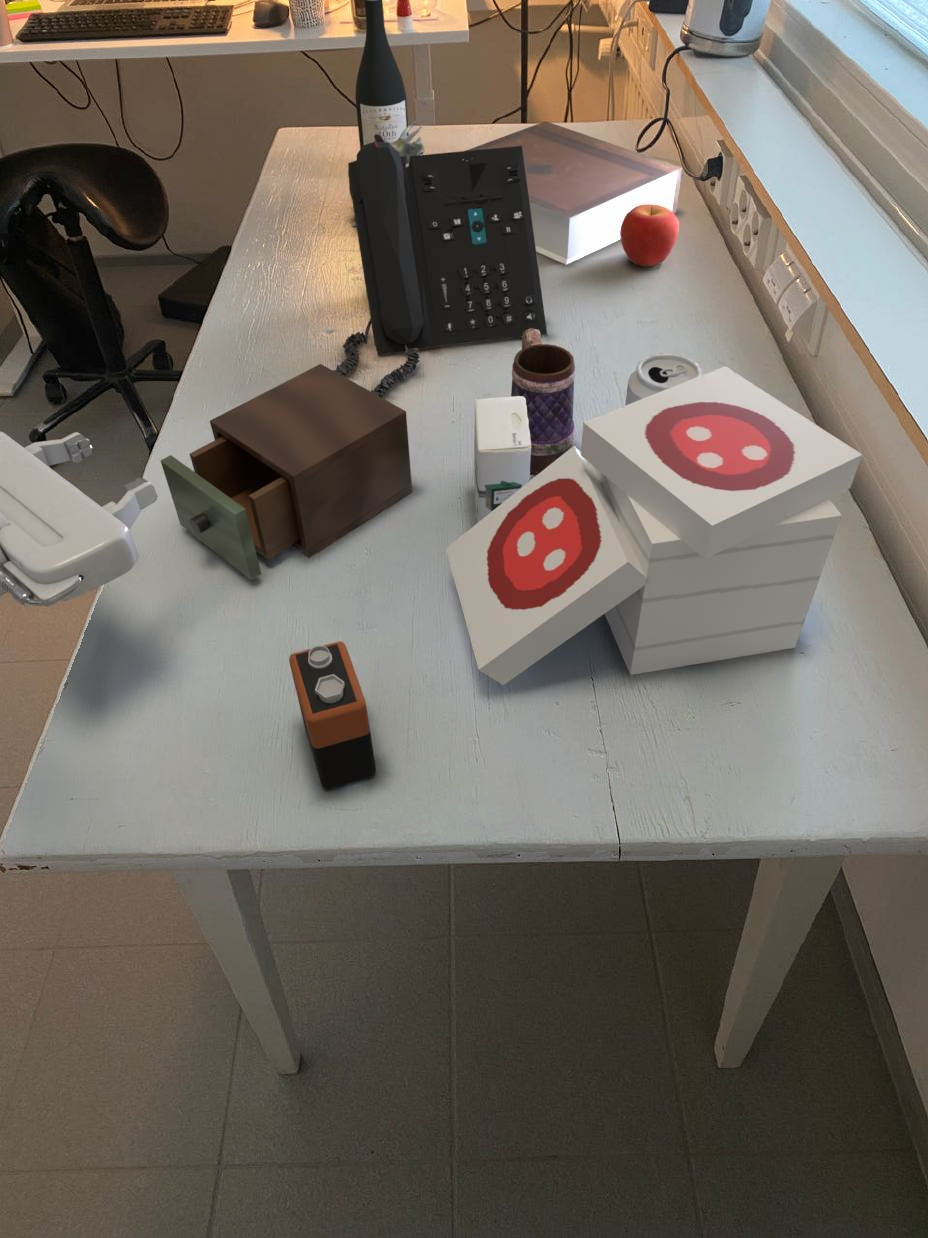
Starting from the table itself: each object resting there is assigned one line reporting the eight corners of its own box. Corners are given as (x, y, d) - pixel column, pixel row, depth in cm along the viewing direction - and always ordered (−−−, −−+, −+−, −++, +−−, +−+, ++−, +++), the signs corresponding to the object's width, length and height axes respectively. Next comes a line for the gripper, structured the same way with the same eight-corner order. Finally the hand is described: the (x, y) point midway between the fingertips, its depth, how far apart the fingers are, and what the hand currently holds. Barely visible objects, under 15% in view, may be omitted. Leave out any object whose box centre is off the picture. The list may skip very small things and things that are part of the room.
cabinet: (309, 558, 90) (293, 476, 82) (230, 500, 96) (209, 420, 89) (412, 491, 96) (406, 411, 89) (332, 442, 103) (320, 363, 95)
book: (543, 162, 156) (545, 120, 152) (676, 212, 142) (682, 167, 137) (434, 206, 145) (433, 162, 141) (566, 264, 131) (569, 217, 126)
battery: (323, 794, 71) (304, 713, 64) (304, 726, 76) (284, 644, 68) (378, 777, 72) (366, 696, 65) (356, 712, 76) (342, 629, 69)
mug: (578, 472, 98) (587, 371, 89) (512, 478, 97) (514, 377, 89) (559, 417, 105) (565, 318, 96) (497, 423, 104) (497, 324, 96)
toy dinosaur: (361, 254, 134) (353, 173, 126) (311, 243, 137) (300, 164, 129) (430, 196, 148) (427, 120, 140) (384, 188, 150) (378, 113, 142)
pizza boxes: (443, 565, 88) (435, 402, 75) (742, 521, 92) (783, 358, 79) (485, 723, 75) (483, 558, 62) (831, 664, 79) (898, 497, 66)
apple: (681, 271, 129) (689, 215, 123) (625, 276, 128) (631, 219, 122) (665, 247, 134) (672, 191, 128) (611, 251, 133) (616, 196, 128)
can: (610, 450, 100) (622, 350, 92) (678, 444, 101) (696, 345, 92) (626, 493, 95) (640, 392, 87) (698, 487, 96) (719, 386, 87)
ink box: (473, 493, 96) (472, 394, 87) (522, 491, 96) (525, 392, 87) (477, 549, 90) (476, 448, 81) (529, 547, 90) (533, 446, 81)
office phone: (324, 417, 106) (298, 242, 91) (302, 299, 125) (278, 140, 111) (572, 383, 110) (585, 211, 95) (514, 274, 129) (517, 117, 114)
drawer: (241, 587, 86) (223, 521, 80) (170, 531, 91) (148, 466, 86) (353, 516, 92) (344, 450, 87) (281, 467, 98) (268, 403, 92)
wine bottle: (413, 179, 153) (401, -41, 131) (365, 184, 152) (345, -37, 130) (406, 161, 158) (393, -53, 137) (360, 165, 157) (339, -50, 136)
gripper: (15, 582, 63) (183, 485, 70) (-119, 462, 73) (40, 387, 80) (47, 644, 68) (202, 547, 74) (-82, 524, 77) (65, 447, 84)
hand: (117, 464), depth 77 cm, fingers open, 8 cm apart
